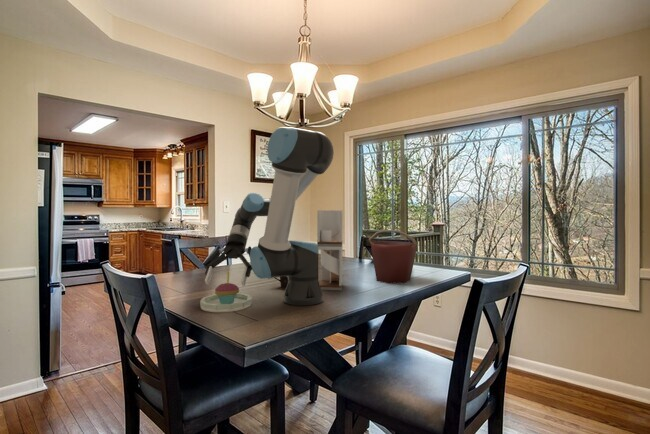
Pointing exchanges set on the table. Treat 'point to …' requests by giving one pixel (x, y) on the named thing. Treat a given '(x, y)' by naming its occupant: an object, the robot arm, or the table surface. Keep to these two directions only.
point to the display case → (330, 248)
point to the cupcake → (226, 292)
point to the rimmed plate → (216, 301)
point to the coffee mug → (283, 281)
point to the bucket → (393, 259)
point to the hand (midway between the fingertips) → (224, 283)
